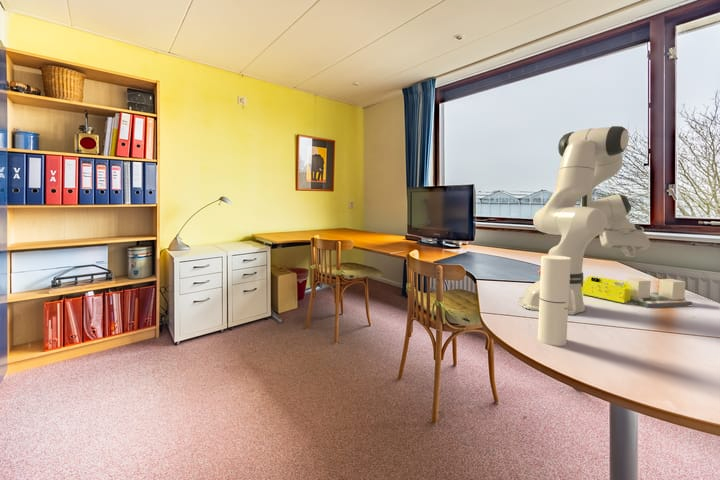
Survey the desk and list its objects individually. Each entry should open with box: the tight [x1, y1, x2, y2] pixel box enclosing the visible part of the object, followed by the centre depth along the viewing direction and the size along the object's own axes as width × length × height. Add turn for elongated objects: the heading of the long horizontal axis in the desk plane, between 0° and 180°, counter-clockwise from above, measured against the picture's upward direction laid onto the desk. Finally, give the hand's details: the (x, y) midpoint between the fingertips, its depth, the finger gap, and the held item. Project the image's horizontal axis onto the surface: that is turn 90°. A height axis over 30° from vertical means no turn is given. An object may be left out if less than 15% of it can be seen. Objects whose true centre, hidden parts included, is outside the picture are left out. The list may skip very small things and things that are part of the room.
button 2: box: [657, 278, 687, 300], centre depth 120 cm, size 5×6×7 cm
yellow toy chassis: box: [582, 275, 631, 304], centre depth 126 cm, size 16×6×8 cm, turn 27°
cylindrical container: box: [537, 254, 571, 347], centre depth 88 cm, size 7×7×25 cm
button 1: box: [626, 277, 652, 298], centre depth 122 cm, size 5×6×7 cm
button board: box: [627, 292, 693, 309], centre depth 121 cm, size 18×13×2 cm
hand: (630, 256), depth 133 cm, fingers closed
